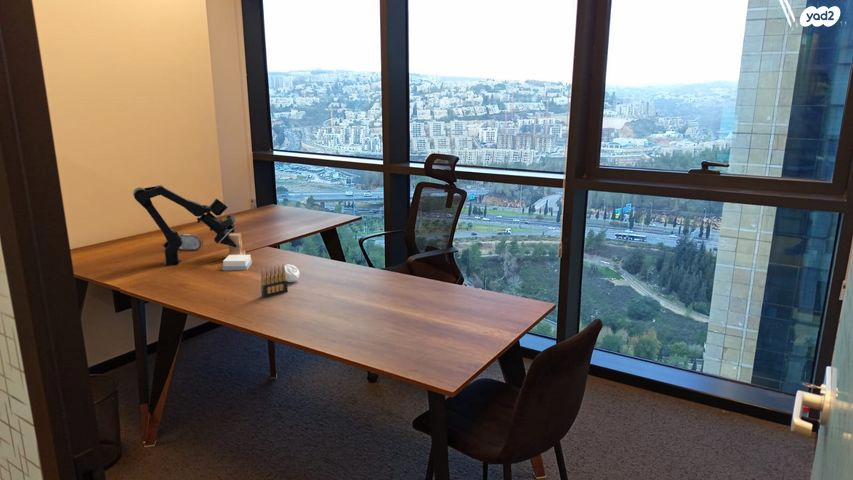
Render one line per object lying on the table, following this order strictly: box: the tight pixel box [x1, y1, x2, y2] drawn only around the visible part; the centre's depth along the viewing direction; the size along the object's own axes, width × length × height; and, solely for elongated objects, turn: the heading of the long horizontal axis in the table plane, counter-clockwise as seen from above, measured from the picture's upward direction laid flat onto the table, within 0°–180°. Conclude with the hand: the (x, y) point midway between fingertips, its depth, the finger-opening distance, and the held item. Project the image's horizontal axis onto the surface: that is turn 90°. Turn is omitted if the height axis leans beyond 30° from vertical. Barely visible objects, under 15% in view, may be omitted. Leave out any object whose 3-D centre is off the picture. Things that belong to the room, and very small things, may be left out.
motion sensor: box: [281, 264, 301, 283], centre depth 250 cm, size 8×8×8 cm
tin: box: [178, 232, 204, 251], centre depth 298 cm, size 15×3×8 cm, turn 84°
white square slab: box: [222, 254, 252, 266], centre depth 271 cm, size 10×10×2 cm
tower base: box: [221, 258, 253, 271], centre depth 272 cm, size 11×11×2 cm
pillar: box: [226, 232, 246, 258], centre depth 284 cm, size 7×7×12 cm
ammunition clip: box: [260, 264, 289, 299], centre depth 235 cm, size 11×2×12 cm, turn 130°
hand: (238, 244), depth 284 cm, fingers open, 8 cm apart
